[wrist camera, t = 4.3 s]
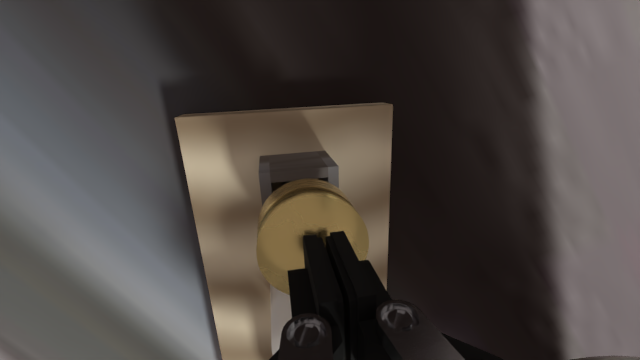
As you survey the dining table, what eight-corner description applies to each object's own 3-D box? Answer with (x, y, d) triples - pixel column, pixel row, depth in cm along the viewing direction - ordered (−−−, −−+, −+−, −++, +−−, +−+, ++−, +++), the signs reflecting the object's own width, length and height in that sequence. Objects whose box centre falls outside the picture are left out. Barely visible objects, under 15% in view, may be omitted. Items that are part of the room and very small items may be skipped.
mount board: (183, 114, 20) (150, 127, 14) (382, 102, 22) (422, 109, 16) (235, 392, 28) (227, 469, 23) (376, 364, 30) (401, 428, 25)
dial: (266, 256, 22) (267, 321, 16) (332, 248, 23) (356, 307, 17) (273, 311, 24) (275, 388, 18) (334, 301, 24) (356, 372, 18)
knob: (256, 154, 19) (249, 203, 11) (328, 148, 20) (369, 191, 12) (263, 220, 21) (262, 305, 13) (330, 213, 22) (368, 288, 14)
